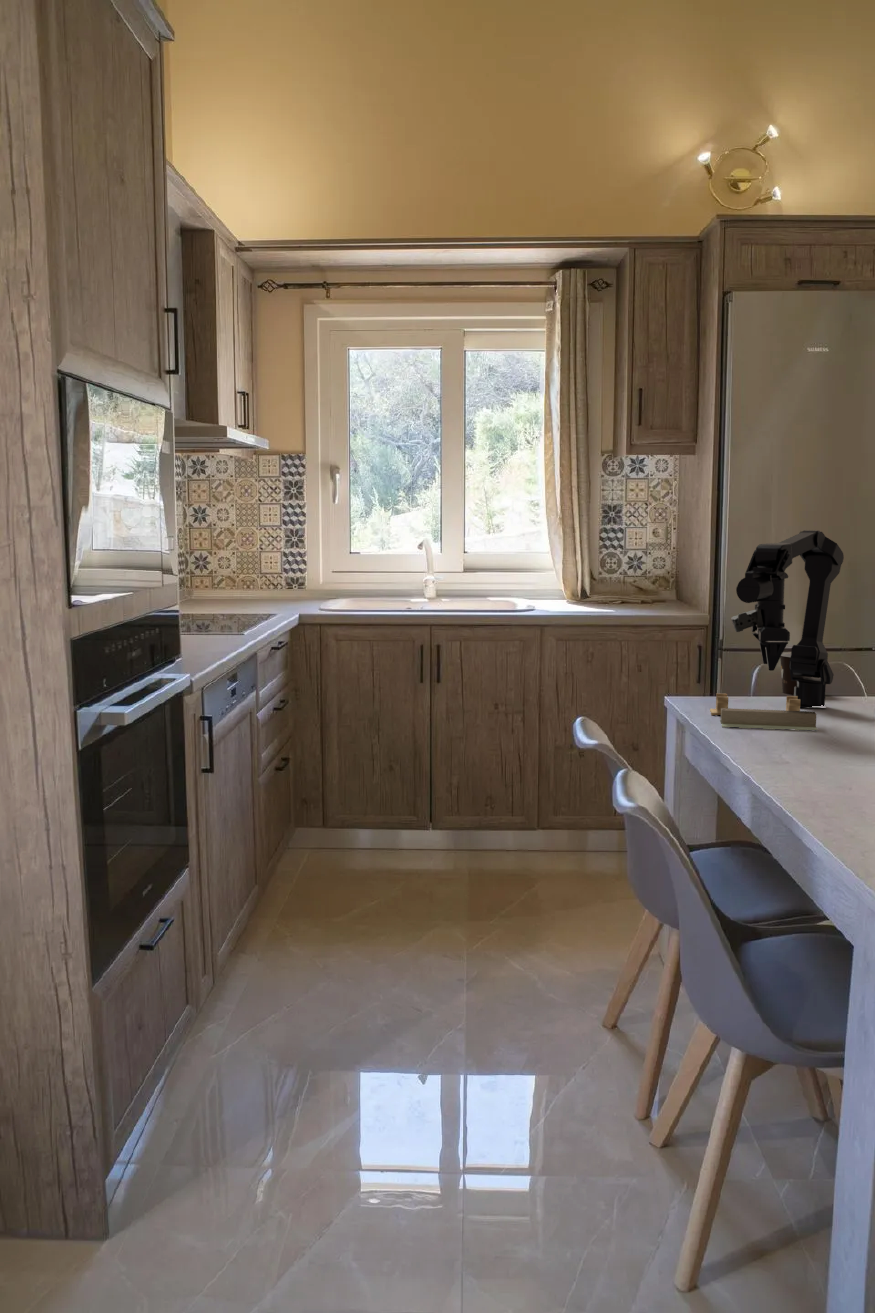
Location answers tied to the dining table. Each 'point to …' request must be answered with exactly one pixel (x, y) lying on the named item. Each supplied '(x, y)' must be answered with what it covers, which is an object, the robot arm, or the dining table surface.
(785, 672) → the coffee mug
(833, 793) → the dining table surface
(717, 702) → the rack
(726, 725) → the mat
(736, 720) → the rail
